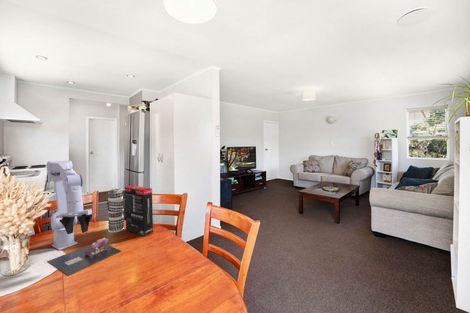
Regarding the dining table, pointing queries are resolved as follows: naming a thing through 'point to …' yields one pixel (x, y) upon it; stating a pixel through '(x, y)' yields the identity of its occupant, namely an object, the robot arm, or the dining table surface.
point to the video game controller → (96, 246)
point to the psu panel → (81, 259)
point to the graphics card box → (139, 209)
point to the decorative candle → (115, 210)
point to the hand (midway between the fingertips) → (77, 232)
